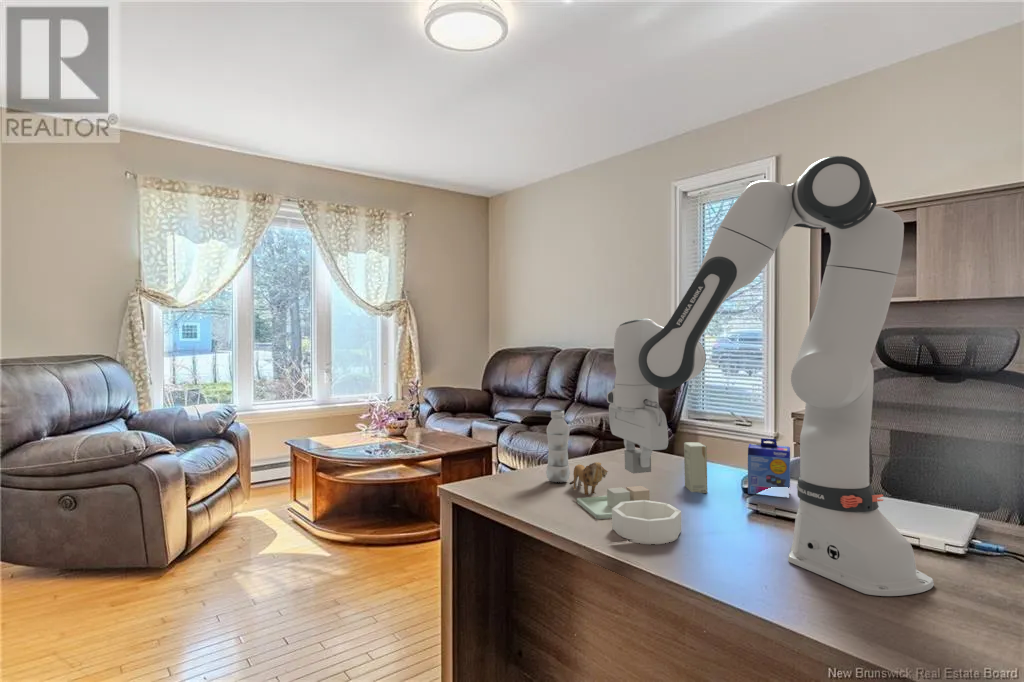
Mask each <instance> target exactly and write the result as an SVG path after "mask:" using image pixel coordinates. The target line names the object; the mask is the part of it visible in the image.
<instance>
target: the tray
mask: <svg viewBox="0 0 1024 682" xmlns="http://www.w3.org/2000/svg"><path fill="white" fill-rule="evenodd" d="M576 503H577V504H578V505H580V507H582V508H583V509H584V510H585V511H587V512H588V513H589V514H590V515H591V516H593V517H594V518H595V519H597V520H602V519H603V520H604V519H612V508H610V507H609V506H608V505H607V495H599V496H587V497H576Z"/></svg>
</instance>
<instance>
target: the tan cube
mask: <svg viewBox="0 0 1024 682" xmlns="http://www.w3.org/2000/svg"><path fill="white" fill-rule="evenodd" d="M625 489H626V490H628V491H629V492H630V501H637V500H647V501H651V499H650V489H648V488H646V487H645V486H643V485H635V486H627V487H626V488H625Z"/></svg>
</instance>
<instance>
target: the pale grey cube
mask: <svg viewBox="0 0 1024 682" xmlns="http://www.w3.org/2000/svg"><path fill="white" fill-rule="evenodd" d="M606 496H607V505H608V506H609V507H610V508H614V507H615V506H616V505H618V504H619V503H620V502H626V501H630V492H629V491H628V490H626V488H624V487H622V486H621V487H611V488H606Z"/></svg>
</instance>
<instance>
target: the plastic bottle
mask: <svg viewBox="0 0 1024 682" xmlns="http://www.w3.org/2000/svg"><path fill="white" fill-rule="evenodd" d="M550 418H551V420H550V421H549V423H548V425H547V426H546V438H547V448H548V455H547V466H546V471H545V472H546V478H547V480H548V481H549V482H553V483H557V482H558V483H559V482H560V483H565V482H568V481H569V479H570V475H571V470H570V464H569V454H568V451H569V437H570V427H569V425H568V423H567V421H566V420H565V418H566V417H565V410H564V409H553V410H550Z"/></svg>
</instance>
